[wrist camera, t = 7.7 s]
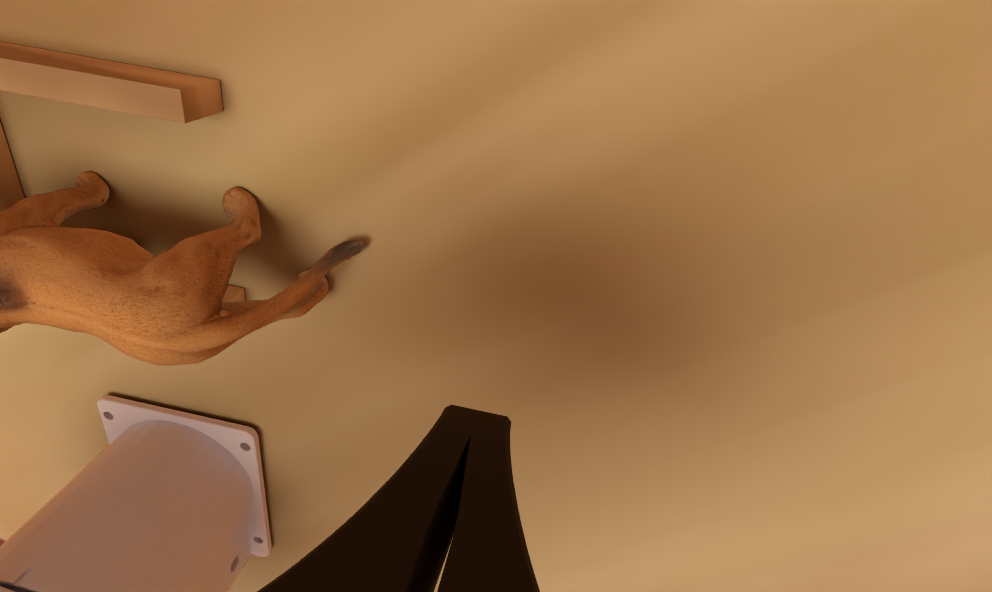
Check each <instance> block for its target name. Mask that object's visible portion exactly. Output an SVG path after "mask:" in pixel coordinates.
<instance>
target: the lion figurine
mask: <svg viewBox="0 0 992 592" xmlns="http://www.w3.org/2000/svg"><path fill="white" fill-rule="evenodd" d="M109 193H110V190H109V188H108V185H107V184H106V183H105V182H104V181H103V180H102V178H100V177H99V176H98V175H97V174H96V173H93V172H90V171H86V172H83V173H81V175H80V176H79V177H78V178H77V180H76V185H75V188H72V189H64V190H59V191H56V192H52V193H45V194H38V195H34V196H30V197H27V198H24V199H22V200H20V201H18V202H17V203H16V204H14V205H13V206H12V207H10V208H9V209H6V210H2V211H0V333H1V332H4V331H6V330H8V329H9V328H11V327H13V326H14V325H19V324H23V323H31V324H40V325H48V326H53V327H57V328H62V329H65V330H70V331H74V332H84V333H88V334H91V335H94V336H97V337H99V338H101V339H102V340H104V341H106V342H107V343H109V344H110V345H112V346H113V347H115V348H116V349H118V350H119V351H121V352H123V353H124V354H126V355H128V356H131V357H133V358H136V359H138V360H141V361H145V362H148V363H152V364H156V365H185V364H194V363H199V362H202V361H204V360H206V359H208V358H211V357H213V356H215V355H217V354H218V353H220V352H221V351H223V350H224V349H226V348H227V347H229V346H230V345H232V344H233V343H234V342H236V341H237V340H239V339H240V338H242V337H244V336H246V335H248V334H249V333H251V332H253V331H255V330H257V329H259V328H262V327H264V326H266V325H268V324H270V323H273V322H275V321H278V320H281V319H287V318H296V317H300V316H302V315H304V314H306V313H307V312H308V311H309V310H310V309H311V308H312V307H314V306H315V305H316V304H317V303H318V302H320V301H321V300H322V299H323V298H324V297H325V296H326V295H327V293H328V282H327V280H326V278H325V277H324V276H325V275H326V274H327V273H328V272H329V271H330V270H331V268H332V267H334V266H336V265H337V264H338V263H340V262H341V261H343V260H346V259H350V258H351V257H352V256H354V255H356V254H358V253H360V252H361V251H362V249H363V244H362V242H361V241H346V242H343V243H341V244H339V245H337V246H335V247H333V248H332V249H330V250H329V251H328V252H327V253H326V254H325V255H324V256H323V257H322V258H321V259H320V260H319V261H318V262H317V263H316V264H315V265H314V266H313V267H312V268H311V269H310V270H306V271H303V272H301V273H300V274H299V275H298V277H297V279H296V280H295V282H294V283H293V284H291V285H290V286H288V287H287V288H286V289H285V290H283V291H282V292H280V293H279V294H277V295H276V296H274V297H272V298H271V299H268V300H252V301H237V302H222V299H223V297H224V294H225V292H226V289H227V287H228V282H229V279H230V277H231V274H232V271H233V268H234V264H235V261H236V258H237V255H238V253H239V252H240V251H241V250H243V249H244V248H245V247H247V246H248V245H251V244H253V243H256V242H258V241H259V240H260V238H261V228H260V222H259V210H258V205H257V202H256V200H255V199H254V198H253V196H252V195H251V194H250V193H248V192H247V191H246V190H244V189H242V188H238V187H233V188H231V189H230V190H228V191H226V192H225V193H224V197H223V202H222V203H223V208H224V212H225V213H226V215H227V216H229V217H231V218H234V221H233V222H232V223H231V224H229V225H227V226H225V227H222V228H219V229H215V230H212V231H208V232H205V233H202V234H199V235H195V236H192V237H189V238H186V239H184V240H182V241H180V242H179V243H178V244H176V245H175V246H174V247H173V248H171V249H170V250H168V251H166V252H164V253H162V254H160V255H158V256H156V257H155V256H154V255H153V254H151V253H150V252H149V251H147V250H145V249H144V248H142V247H141V246H139V245H138V244H137V243H136V242H135V241H134V240H133V239H131V238H127V237H123V236H121V235H118V234H115V233H112V232H108V231H103V230H97V229H88V228H68V227H59V226H60V224H61V223H62V222H63V221H64V220H65V219H67V218H68V217H70V216H72V215H74V214H76V213H79V212H82V211H86V210H89V209H96V208H98V207H99V206H101V205H103V204H104V203H105V202H106V201H107V200H108V198H109Z"/></svg>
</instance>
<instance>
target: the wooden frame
mask: <svg viewBox="0 0 992 592" xmlns="http://www.w3.org/2000/svg"><path fill="white" fill-rule="evenodd" d="M0 90H4V91H9V92H15V93H20V94H26V95H31V96H37V97H42V98H48V99H53V100H59V101H64V102H70V103H75V104H81V105H86V106H92V107H97V108H103V109H108V110H114V111H119V112H125V113H130V114H136V115H141V116H147V117H153V118H158V119H164V120H169V121H175V122H180V123H188V122H191V121H194V120H197V119H200V118H203V117H206V116H209V115H212V114H215V113H218V112H221V111H223V104H222V96H221V87H220V80H217V79H212V78H206V77H200V76H194V75H189V74H183V73H177V72H171V71H166V70H160V69H154V68H148V67H143V66H137V65H131V64H125V63H120V62H114V61H108V60H102V59H97V58H91V57H85V56H79V55H74V54H68V53H62V52H56V51H51V50H45V49H39V48H33V47H28V46H22V45H16V44H10V43H5V42H0ZM24 198H25V197H24V194H23V191H22V188H21V185H20V182H19V179H18V175H17V172H16V169H15V166H14V163H13V160H12V157H11V154H10V150H9V147H8V144H7V141H6V138H5V135H4V132H3V129H2V125H1V122H0V211H2V210H6V209H9V208H10V207H12V206H13V205H14V204H16V203H17V202H18V201H20V200H22V199H24ZM237 301H246V300H245V292H244V288H241V287H236V286H231V285H228V287H227V289H226V292H225V294H224V297H223V299H222V302H237Z"/></svg>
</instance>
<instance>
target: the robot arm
mask: <svg viewBox="0 0 992 592" xmlns="http://www.w3.org/2000/svg"><path fill="white" fill-rule="evenodd" d="M97 406H98V410H99V413H100V416H101V419H102V422H103V426H104V429H105V432H106V435H107V438H108V442H109V446H108V447H107V448H106V449H105V450H104V451H102V452H101V453H100V454H99V455H98V456H97V457H96V458H95V459H94V460H93V461H92V462H91V463H90V464H89V465H87V466H86V467H85V468H84V469H83V470H82V471H81V472H80V473H79V474H78V475H77V476H76V477H75V478H74V479H72V480H71V481H70V482H69V483H68V484H67V485H66V486H65V487H64V488H63V489H62V490H61V491H60V492H59V493H57V494H56V495H55V496H54V497H53V498H52V499H51V500H50V501H49V502H48V503H47V504H46V505H45V506H44V507H42V508H41V509H40V510H39V511H38V512H37V513H36V514H35V515H34V516H33V517H32V518H31V519H30V520H29V521H27V522H26V523H25V524H24V525H23V526H22V527H21V528H20V529H19V530H18V531H17V532H16V533H15V534H14V535H12V536H11V537H10V538H9V539H8V540H7V541H6V542H5V543H4V544H3V545H2V546H1V547H0V592H228V590H229V589H230V587H231V585H232V584H233V582H234V580H235V579H236V577H237V576H238V574H239V572H240V571H241V569H242V567H243V566H244V564H245V563H246V561H247V559H248V558H249V556H250V554H251V555H255V556H259V557H266V556H268V555H269V554H270V552H271V550H272V545H271V537H270V529H269V521H268V513H267V504H266V496H265V488H264V480H263V471H262V463H261V455H260V447H259V438H258V434H257V432H256V431H255V430H254V429H253V428H251V427H248V426H244V425H240V424H235V423H231V422H226V421H222V420H218V419H213V418H209V417H204V416H200V415H195V414H191V413H186V412H182V411H177V410H173V409H168V408H164V407H160V406H155V405H151V404H146V403H142V402H137V401H133V400H128V399H124V398H119V397H115V396H110V395H105V396H103V397H102V398H100V399H99V400H98V402H97ZM510 427H511V421H510V420H509V418H508V417H506V416H502V415H497V414H492V413H488V412H483V411H478V410H474V409H469V408H464V407H459V406H455V405H450V406H448V407H446V408H445V409H444V411H443V413H442V414H441V416H440V417H439V419H438V420H437V422H436V423H435V425H434V426H433V428H432V429H431V430H430V432H429V433H428V434H427V436H426V437H425V438H424V439H423V441H422V442H421V443H420V444H419V446H418V447H417V448H416V449H415V451H414V452H413V453H412V454H411V455H410V456H409V458H408V459H407V460H406V461H405V462H404V463H403V465H402V466H401V467H400V468H399V469H398V470H397V471H396V473H395V474H394V475H393V476H392V477H391V478H390V479H389V480H388V481H387V482H386V483H385V484H384V485H383V486H382V487H381V488H380V489H379V490H378V491H377V492H376V493H375V494H374V495H373V496H372V498H371V499H370V500H369V501H368V502H367V503H366V504H365V505H364V506H363V507H361V508H360V509H359V510H358V511H357V512H356V513H355V514H354V515H353V516H352V517H351V518H350V519H349V520H348V521H346V522H345V523H344V524H343V525H342V526H341V527H340V528H339V529H337V530H336V531H335V532H334V533H333V534H332V535H331V536H329V537H328V538H327V539H326V540H325V541H324V542H322V543H321V544H320V545H319V546H317V547H316V548H315V549H314V550H312V551H311V552H310V553H309V554H307V555H306V556H305V557H304V558H302V559H301V560H300V561H299V562H297V563H296V564H295V565H294V566H292V567H291V568H290V569H288V570H287V571H286V572H284V573H283V574H282V575H280V576H279V577H278V578H276V579H275V580H273V581H272V582H270V583H269V584H268V585H266V586H265V587H263V588H262V589H260V590H259V591H257V592H434V589H435V586H436V584H437V581H438V578H439V575H440V572H441V569H442V566H443V564H444V561H445V558H446V555H447V552H448V549H449V546H450V544H451V546H450V550H449V553H448V557H447V560H446V564H445V567H444V570H443V574H442V577H441V581H440V584H439V588H438V591H437V592H540V591H539V588H538V584H537V581H536V578H535V575H534V571H533V568H532V564H531V561H530V557H529V554H528V550H527V546H526V542H525V538H524V534H523V529H522V525H521V521H520V516H519V511H518V506H517V500H516V494H515V488H514V482H513V475H512V466H511V455H510ZM453 535H454V536H453ZM452 538H453V539H452ZM451 541H452V543H451Z"/></svg>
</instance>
